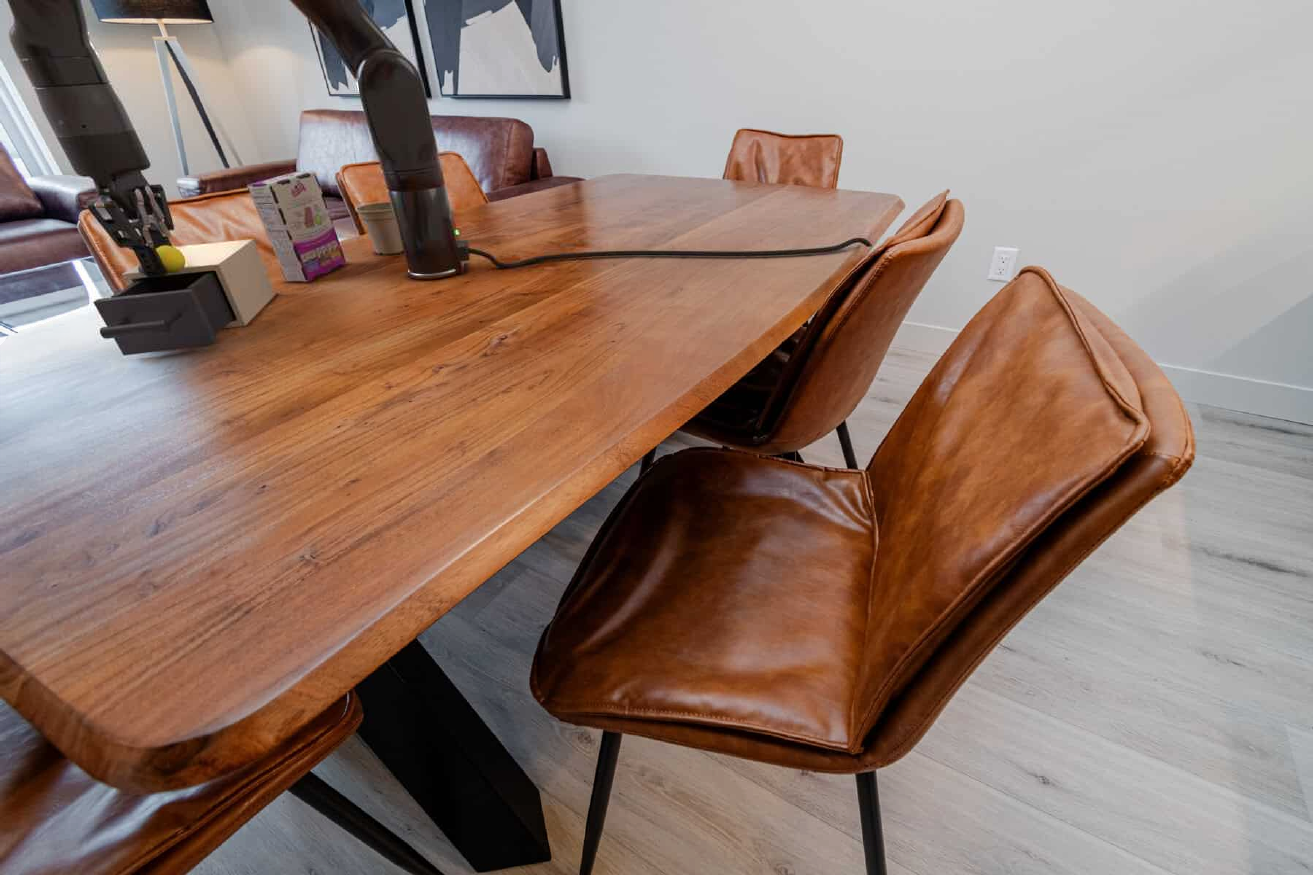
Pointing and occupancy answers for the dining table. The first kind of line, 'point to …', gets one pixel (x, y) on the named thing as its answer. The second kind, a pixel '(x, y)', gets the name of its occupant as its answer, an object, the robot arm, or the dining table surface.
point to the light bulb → (169, 259)
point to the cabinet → (228, 274)
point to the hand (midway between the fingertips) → (165, 271)
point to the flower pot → (381, 227)
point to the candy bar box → (298, 225)
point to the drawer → (166, 313)
